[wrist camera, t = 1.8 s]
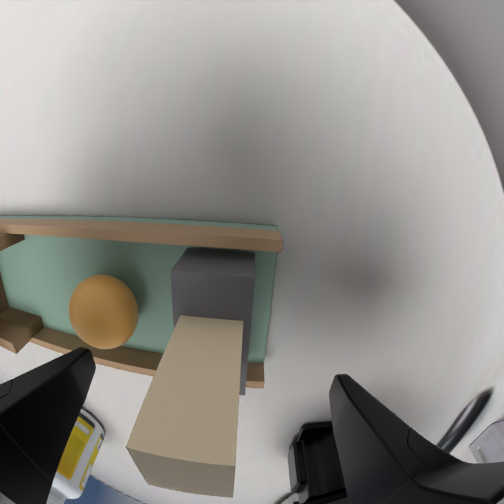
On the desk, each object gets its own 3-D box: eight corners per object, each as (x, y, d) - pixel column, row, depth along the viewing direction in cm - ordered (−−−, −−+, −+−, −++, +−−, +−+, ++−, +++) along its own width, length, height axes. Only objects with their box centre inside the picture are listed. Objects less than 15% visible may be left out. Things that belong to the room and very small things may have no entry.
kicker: (254, 252, 12) (257, 422, 4) (245, 359, 14) (241, 512, 6) (187, 248, 12) (88, 393, 4) (190, 354, 14) (151, 499, 6)
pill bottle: (45, 386, 18) (-8, 467, 7) (100, 411, 18) (54, 511, 7) (62, 422, 20) (24, 494, 9) (111, 444, 20) (80, 527, 9)
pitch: (277, 226, 13) (282, 240, 11) (262, 359, 15) (263, 388, 13) (-6, 215, 13) (-29, 223, 10) (14, 312, 15) (-4, 327, 13)
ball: (145, 267, 13) (113, 300, 9) (151, 328, 14) (128, 371, 10) (86, 260, 12) (47, 288, 9) (96, 318, 14) (66, 354, 10)
